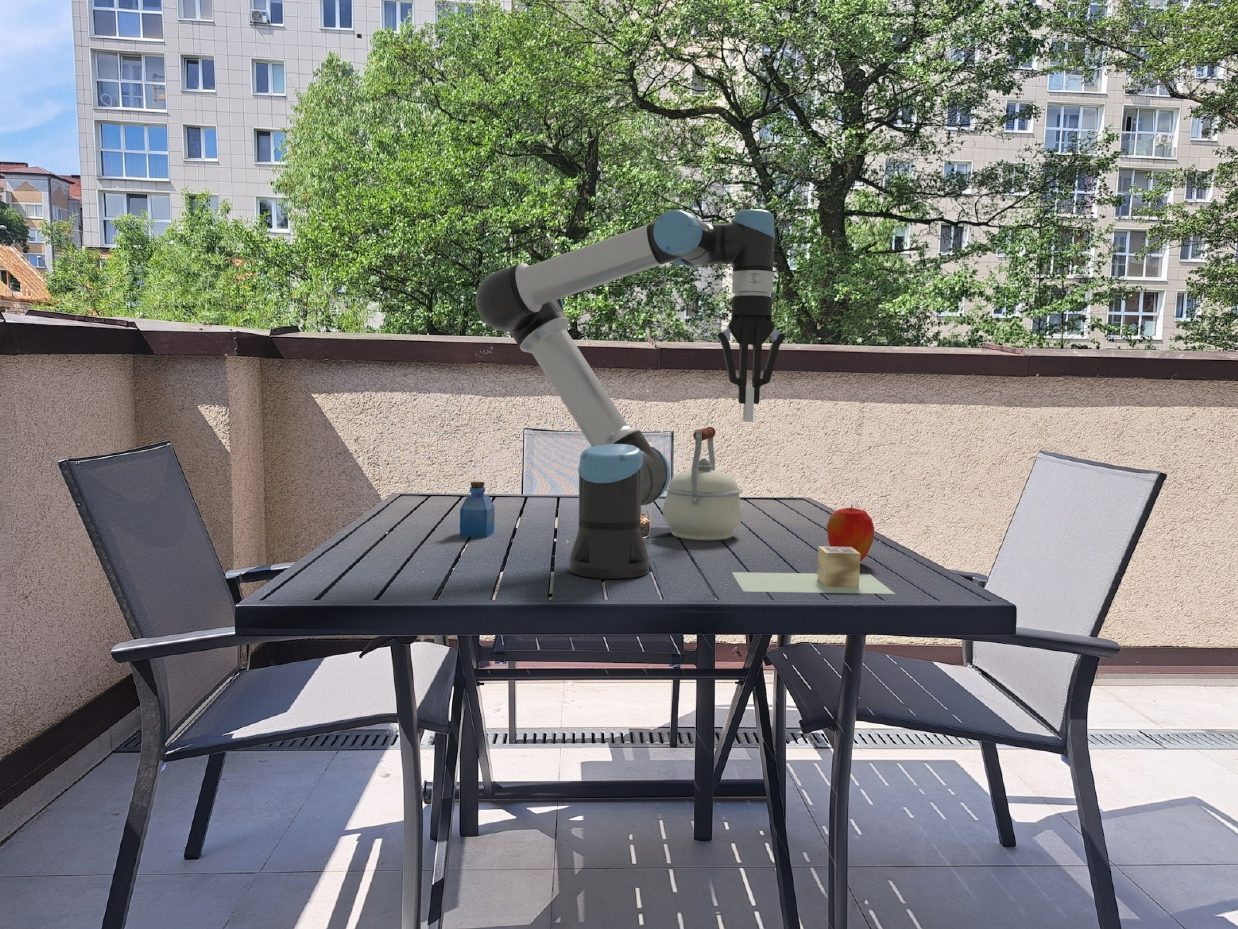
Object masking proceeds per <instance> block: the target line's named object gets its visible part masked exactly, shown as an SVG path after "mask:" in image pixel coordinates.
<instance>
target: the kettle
mask: <svg viewBox="0 0 1238 929" xmlns="http://www.w3.org/2000/svg"><path fill="white" fill-rule="evenodd" d="M716 434H717V433H716V429H715V428H714V427H713V426H707V427H705V428H701V429H697V430H695V431H694V432H693V439H694V441H695V444H694V445H695V446H694V452H693V453H694V454H693V458H692V465H691V470H686V471H683V472H680V473H678V474H676V475H674V476H673V478H671V480H670V481H669V484H668V486H667V488H666V490H665V492H667V494H666V496H665V498H664V502H663V506H662V515H663V518H664V521H665V523H667V525H668V526H669V527H670V529H672V530H671V534H672V535H673V536H674V537H676V538H679V539H684V540H690V541H702V542H703V541H724V540H729V539H730V538H732V537H733V536H734V533H733V531H734V530H735V529H736V528H737V527H738V526H739V524H740V523H741V521H742V518H743V515H744V514H743V509H744V508H743V504H742V501H741V497H740V494H741V493H743V492H742V488H739V486H738V483H737V481H736V480H735V479H734V478H733V477H732V476H731V475H729V474H727V473H725V472H723V471H719V470H716V457H715V449H714V448H715V447H714V437H715V435H716ZM706 440H707V452H708V459H706V458H701V453H702V444H703V443H702V442H703V441H706Z"/></svg>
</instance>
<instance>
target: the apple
mask: <svg viewBox="0 0 1238 929" xmlns="http://www.w3.org/2000/svg"><path fill="white" fill-rule="evenodd" d="M826 531H827V532H826V533H827V540H828V544H829V547H852V548H854V549H855V550H856V551H858V552H859V553H860V563H861V562H862V561H863V560H864V559H865V558H866V557H867V555H868V553H869V551H870V549H871V547H872V544H873V543H874V536H875V534H874V533H875V526H874V523H873V519H872V518H871V516H870V515H869V514H868V512H866V510H864V509H859V508H856V507H853V504H852V503H851V507H845V508H844V507H843V508H841V509H837V510H836V511H834V512H833V513H832V514H831V515H830V517H829V519H828V522H827V524H826Z"/></svg>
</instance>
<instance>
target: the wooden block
mask: <svg viewBox="0 0 1238 929" xmlns="http://www.w3.org/2000/svg"><path fill="white" fill-rule="evenodd" d="M817 547H818V550H817V552H818V553H817V572H816V574H817V579H818V580H819V581H820V582H821V583H822V584H823V585H824V586H825V587H859V575H860V574H861V573H860V572H861V570H860V569H861V562H860V553H859V552H858V551H856V550H855V549H854V548H852V547H830V546H817Z"/></svg>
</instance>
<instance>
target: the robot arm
mask: <svg viewBox="0 0 1238 929" xmlns="http://www.w3.org/2000/svg"><path fill="white" fill-rule="evenodd" d="M775 239H776V235H775V217H774V214H772V213H771V211H769V210H765V209H755V208H754V209H745V210H738V211H737V212H735V214H734V218H733V220H732V222H727V223H706V222H705V221H703V220H700V219H698V218H697V217H696V216H695V215H694V214H692V213H690V212H688V211H684V210H680V209H671V210H666V211H665V212H664V213H662V214H661V215H660V216H659V217H658V219H657V220H656V221H653V222H651V223H648V224H646V225H642V226H640V227H636V228H635V229H634V228H633V229H631V230H628V231H626V232H622V233H620V234H617V235H613V236H611V237H609V238H605V239H603V240H600V241H596V242H594V243H591V244H588V245H586V246H583V247H580V248H576V249H575V250H574V249H573V250H571V251H568V252H565V253H562V254H560V255H557V256H555V257H552V258H549V259H548V258H547V259H545V260H542V261H539V262H537V263H534V264H531V265H529V264H527V263H526V262H521V263H517V264H515V265H513V266H512V265H511V266H509V267H506V268H503V269H499V270H498V271H494V272H492V273H491V274H489V275H487V276H486V277H485V278H484V279H482V281H481V282H480V284H479V286H478V288H477V291H476V293H475V294H476V295H475V307H476V309H477V312H478V315H479V317H480V318H481V320H482V321H483V322H484V323H485V324H486V325H487V326H489V327H491V328H492V329H495V330H497V331H501V332H502V331H503V332H509V334H510V335H511V337H512V338H513V340H514V341H515V342H516V344H517V346H518V348H519V349H520V350H521V351H522V352H524V353H530V354H532V355H533V357H534V359H535V360H536V362H537V363H538V365H539V366H540V368H541V370H542V371H543V374H545V377H547V379H548V381H549V383H550V384H551V386H552V387H553V389H554V390H555V392H556V393H557V395H558V397H559V398H560V400H561V401H562V403H563V404H564V406H565V407H566V409H567V411H568V413H569V414H570V415H571V417H572V418H573V420H574V422H575V424H577V426H578V428H579V430H580V431H581V432H582V434H583V436H584V437H585V440H586V441H587V442H588V444H589V445H590V447H587V448H585V449H584V450H583V451H582V452H581V454H580V457H579V466H578V530H577V533H576V536H575V539H574V543H573V545H572V548H571V552H570V555H569V557H568V558H569V559H568V572H570V573H571V574H573V575H576V576H581V577H587V578H592V579H604V580H605V579H607V580H608V579H609V580H610V579H611V580H613V579H615V580H616V579H617V580H619V579H630V578H637V577H641V576H644V575H647V574H648V573H649V572H650V571H649V570H650V558H649V554H648V552H647V548H646V545H645V543H644V542H645V541H644V538H643V535H642V530H641V524H642V523H641V520H642V518H641V517H642V513H641V512H642V506H643V507H644V506H645V505H646V506H648V505H650V504H652V503H653V502H655V501H656V500H657V499H658V498H660V497H661V496H662V495H664V493H665V492H666V488H667V486H669V484H670V481H671V480H670V478H671V467H670V464H669V462H668V459H667V457H666V456H665V454H664V453H663V452H662V451H661V450H659V449H658V448H656V447H654V446H651V445H650V443H649V441H648V440H647V439H646V438H645V436H644V434H643V433H642V431H641V430H640V429H639V428H635V427H631V426H629V425H628V424H627V422H626V420H625V419H624V417H623V415H622V414H621V412H620V411H619V409H618V408H617V406H616V404H615V403H614V401H613V400H612V398H611V396H610V395H609V394H608V392H607V390H606V389H605V388H604V386H603V384H602V383H601V382H600V379H599V378H598V377H597V375H596V374H595V372H594V371H593V369H592V367H591V365H590V364H589V362H588V361H587V360H586V358H585V357H584V355H583V353H582V352H581V350H580V349H579V347H578V346H577V344H576V342H575V341H574V339H573V338H572V337H571V335H570V334H569V332H568V327H569V323H570V321H569V318H568V317H567V314H566V313H565V311H564V309H565V307H564V302H563V298H565V297H569V296H571V295H574V294H578V293H580V292H583V291H586V290H589V289H593V288H596V287H598V286H602V285H604V284H607V283H611V282H613V281H616V280H620V279H622V278H625V277H628V276H631V275H634V274H637V273H640V272H644V271H645V270H649V269H652V268H655V267H658V266H660V265H661V266H662V265H664V264H667V263H671V262H672V263H673V264H675V265H676V266H689V267H694V266H705V265H707V266H708V265H732V280H731V281H732V283H731V293H732V294H733V295H734V296H733V297H732V298H731V312H730V313H731V315H730V318H731V319H730V322H729V324H728V327H727V328H726V329H724V330H722V331H721V332H718V333H717V334H716V338H717V339H718V341H719V343H720V344H721V347H722V348H721V349H722V352H723V358H724V362H725V367H726V371H727V376H728V377H727V378H728V381H729V383H731V384H732V385H733V384H734V385H736V386H737V388H738V399H737V401H738V404H742V405H743V414H742V416H743V417H742V419H743V420H742V421H743V422H745V423H748V422H749V423H754V405H759V403H760V396H761V395H760V392H761V390H760V389H761V387H762V386H764V385H767V384H770V382H771V378H772V375H773V371H774V368H775V364H776V360H777V357H778V354H779V350H780V346H781V344H782V343H783V342H784V340H785V339H786V334H785V333H782V332H780V331H779V330H777V329H776V328H775V324H774V323H773V319H772V318H773V317H772V316H773V298H772V297H771V296H770V295H772V294H773V292H774V291H773V284H774V283H773V280H774V278H773V277H774V253H775V241H776V240H775ZM731 335H732V336H733V338H734V339H735V342H736V343H737V344H739V345H738V346H739V347H738V348H739V358H738V360H739V361H738V377H737V372H736V368H735V362H734V358H733V357H734V356H733V353H732V348H731V344H730V340H731ZM770 335H771V337H770V340H771V345H770V348H769V350H768V354H767V359H766V362H765V366H764V370H763V373H761V372H762V348H763V344H764V343H765V341H767V339H768V338H769V336H770ZM749 346H752V368H751V369H752V372H751V375H752V376H751V378H752V379H751V380H752V381H751V384H752V385H751V386H747V383H748V382H747V380H748V355H749V354H748V352H749ZM761 375H762V377H761Z"/></svg>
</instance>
